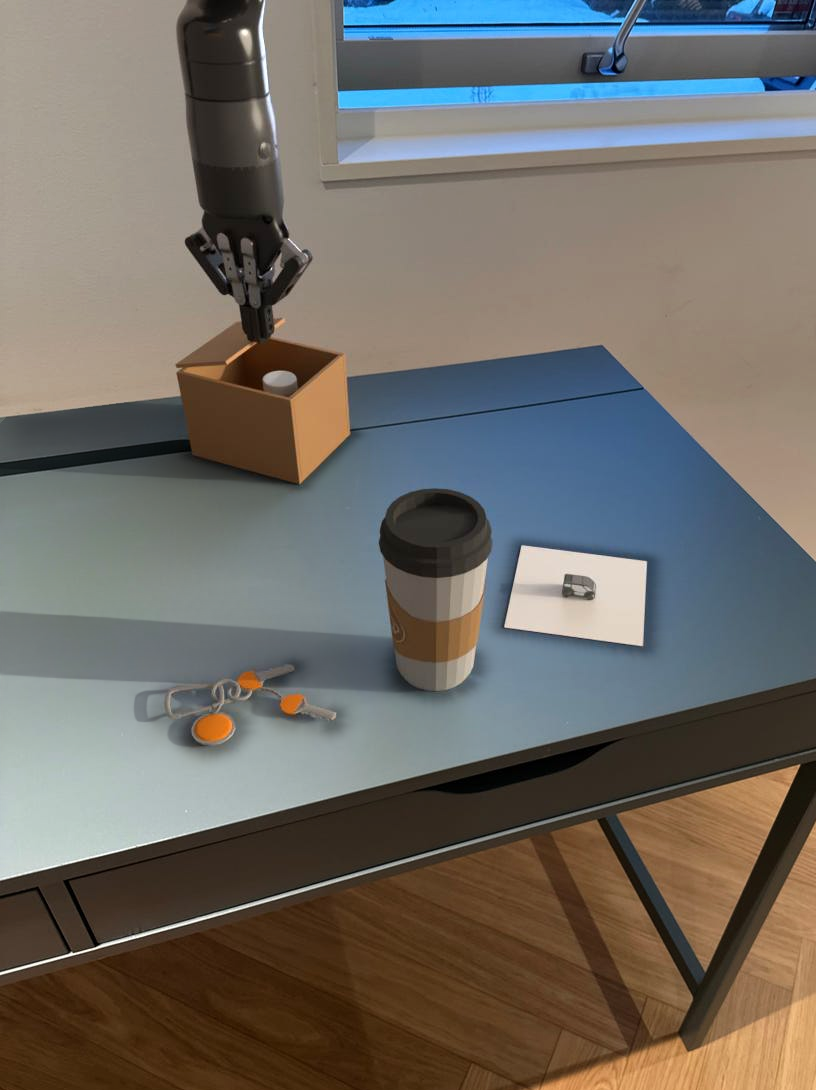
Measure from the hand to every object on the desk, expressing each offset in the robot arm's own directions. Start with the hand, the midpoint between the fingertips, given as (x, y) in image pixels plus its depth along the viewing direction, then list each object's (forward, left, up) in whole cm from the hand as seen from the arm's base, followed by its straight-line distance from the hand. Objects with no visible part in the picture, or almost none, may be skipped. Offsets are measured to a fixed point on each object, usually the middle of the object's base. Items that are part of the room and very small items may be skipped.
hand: (259, 339), depth 93 cm
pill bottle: (+2, 0, -12) cm, 12 cm away
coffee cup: (+30, -24, -12) cm, 40 cm away
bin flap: (-3, 0, -1) cm, 4 cm away
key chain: (+19, -34, -12) cm, 41 cm away
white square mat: (+38, -10, -12) cm, 41 cm away
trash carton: (0, 0, -12) cm, 12 cm away
